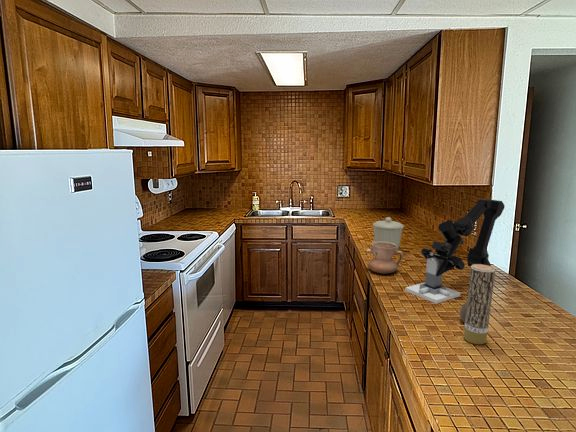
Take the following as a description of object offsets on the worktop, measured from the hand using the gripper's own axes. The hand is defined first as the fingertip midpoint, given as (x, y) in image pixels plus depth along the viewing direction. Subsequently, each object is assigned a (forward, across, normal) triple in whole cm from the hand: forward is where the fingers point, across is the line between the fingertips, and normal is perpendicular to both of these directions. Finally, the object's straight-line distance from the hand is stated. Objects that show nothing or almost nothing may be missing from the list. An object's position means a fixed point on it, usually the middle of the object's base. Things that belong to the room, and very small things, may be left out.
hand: (432, 274), depth 162 cm
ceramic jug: (+3, -32, +10) cm, 33 cm away
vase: (+14, +25, -1) cm, 29 cm away
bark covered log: (+21, +34, -8) cm, 41 cm away
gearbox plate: (+5, 0, +7) cm, 9 cm away
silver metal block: (+4, 0, +6) cm, 7 cm away
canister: (-17, -58, +31) cm, 68 cm away
